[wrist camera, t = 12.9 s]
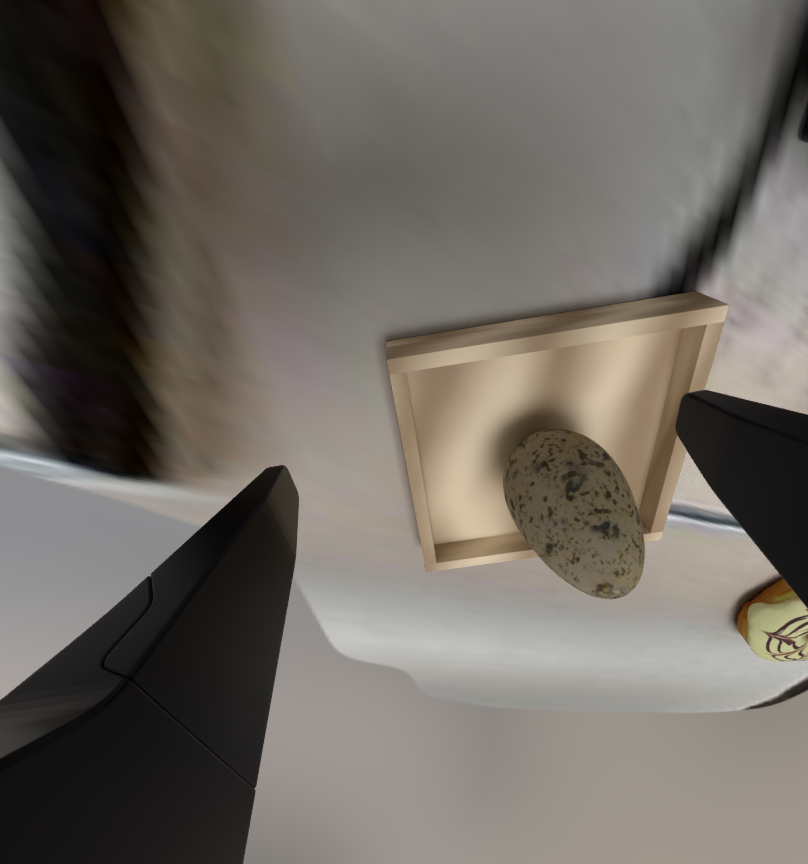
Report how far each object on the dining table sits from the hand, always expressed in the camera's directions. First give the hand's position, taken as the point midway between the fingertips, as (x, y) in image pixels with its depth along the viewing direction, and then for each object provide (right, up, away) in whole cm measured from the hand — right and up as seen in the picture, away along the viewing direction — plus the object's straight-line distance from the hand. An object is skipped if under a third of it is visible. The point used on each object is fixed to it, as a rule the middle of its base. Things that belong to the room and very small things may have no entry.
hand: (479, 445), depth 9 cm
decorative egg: (+7, -1, +16) cm, 17 cm away
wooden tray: (+6, 0, +16) cm, 17 cm away
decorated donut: (+33, -15, +28) cm, 46 cm away
